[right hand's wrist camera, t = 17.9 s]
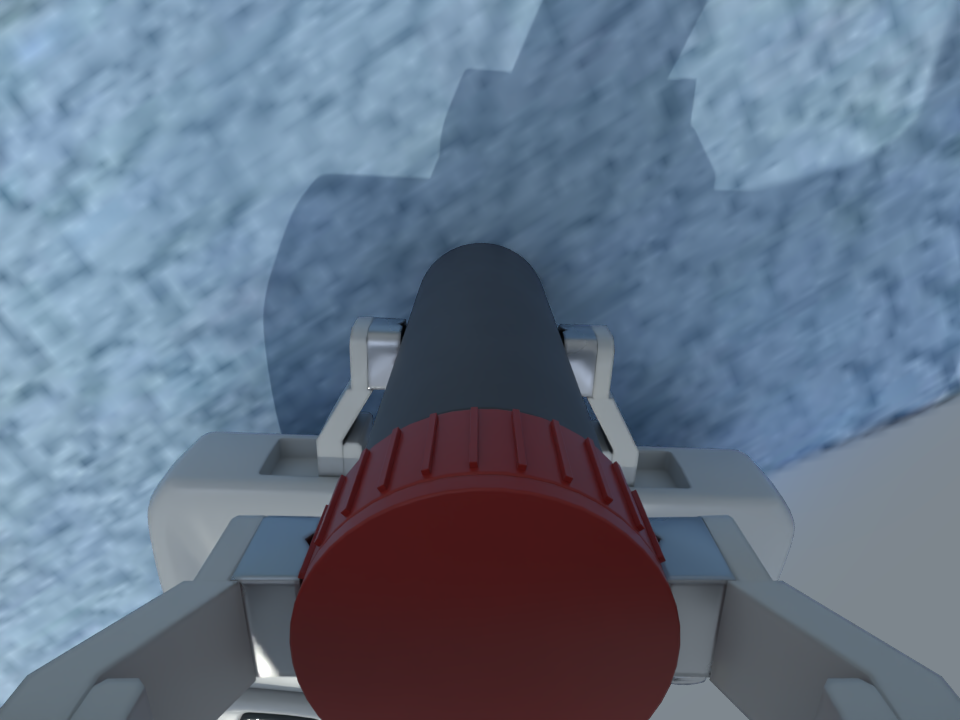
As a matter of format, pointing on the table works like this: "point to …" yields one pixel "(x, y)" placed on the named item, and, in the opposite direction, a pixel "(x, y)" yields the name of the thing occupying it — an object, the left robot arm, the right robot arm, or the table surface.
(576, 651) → the lid
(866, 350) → the table surface
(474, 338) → the dark grey bottle
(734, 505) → the left robot arm
